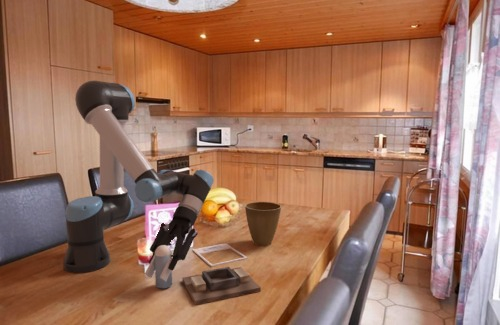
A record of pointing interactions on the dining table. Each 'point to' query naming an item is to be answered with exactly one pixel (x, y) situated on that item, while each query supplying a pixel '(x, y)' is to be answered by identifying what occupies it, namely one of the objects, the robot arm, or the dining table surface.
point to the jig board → (219, 284)
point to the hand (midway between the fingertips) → (155, 277)
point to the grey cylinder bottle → (162, 266)
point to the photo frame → (214, 249)
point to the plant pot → (262, 221)
